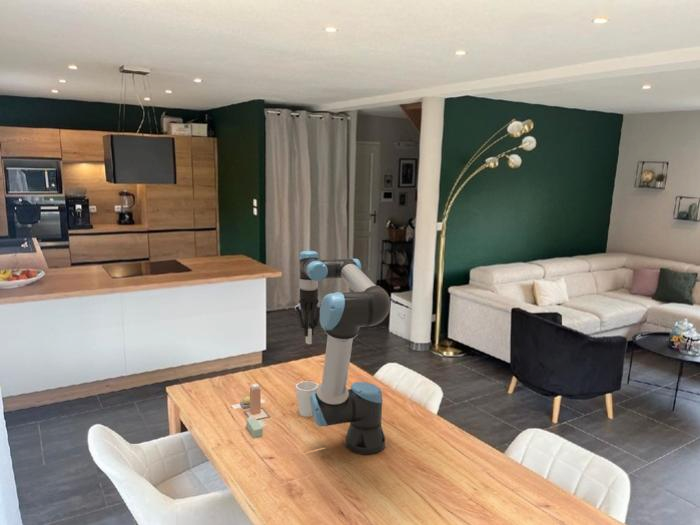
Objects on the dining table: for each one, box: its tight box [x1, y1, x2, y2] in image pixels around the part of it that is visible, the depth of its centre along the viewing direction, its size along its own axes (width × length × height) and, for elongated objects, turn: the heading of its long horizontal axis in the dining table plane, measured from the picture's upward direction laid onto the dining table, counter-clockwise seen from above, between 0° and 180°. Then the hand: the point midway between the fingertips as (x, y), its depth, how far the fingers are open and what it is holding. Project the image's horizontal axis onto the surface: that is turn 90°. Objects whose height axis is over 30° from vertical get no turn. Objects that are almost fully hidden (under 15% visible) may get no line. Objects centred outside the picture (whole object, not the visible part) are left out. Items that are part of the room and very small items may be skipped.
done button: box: [242, 395, 250, 404], centre depth 222 cm, size 4×4×2 cm
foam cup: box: [295, 380, 319, 418], centre depth 216 cm, size 10×9×13 cm
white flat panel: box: [230, 398, 271, 428], centre depth 214 cm, size 28×14×2 cm, turn 29°
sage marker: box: [245, 417, 264, 439], centre depth 201 cm, size 10×3×3 cm, turn 29°
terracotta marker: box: [249, 383, 262, 415], centre depth 216 cm, size 3×3×12 cm
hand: (308, 343), depth 219 cm, fingers closed
